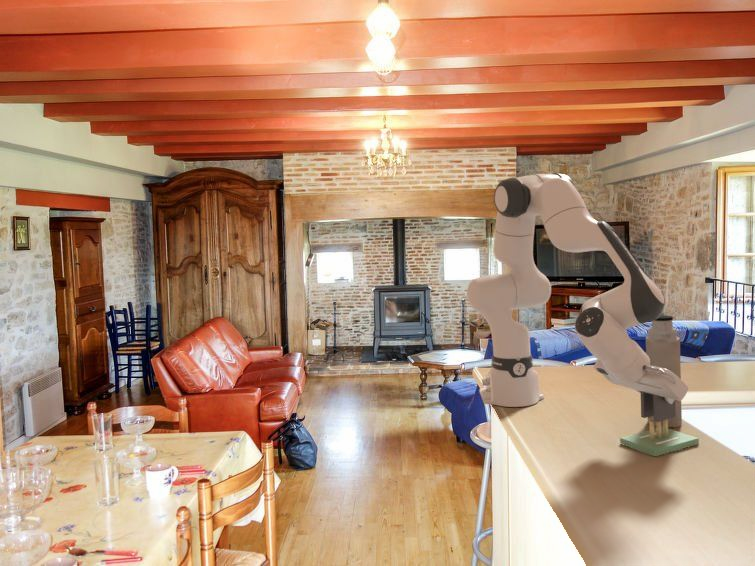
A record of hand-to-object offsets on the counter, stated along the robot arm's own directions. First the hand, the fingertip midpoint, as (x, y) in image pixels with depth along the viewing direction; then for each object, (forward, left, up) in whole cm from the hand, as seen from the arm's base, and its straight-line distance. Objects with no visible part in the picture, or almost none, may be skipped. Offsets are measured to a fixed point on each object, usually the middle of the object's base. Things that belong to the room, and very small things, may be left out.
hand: (659, 398), depth 141 cm
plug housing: (0, -1, -4) cm, 4 cm away
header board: (0, -1, -11) cm, 11 cm away
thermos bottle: (-13, +9, -11) cm, 20 cm away
